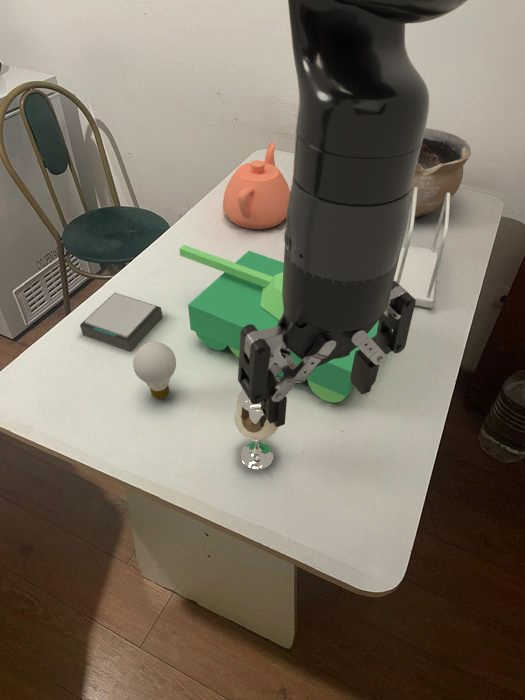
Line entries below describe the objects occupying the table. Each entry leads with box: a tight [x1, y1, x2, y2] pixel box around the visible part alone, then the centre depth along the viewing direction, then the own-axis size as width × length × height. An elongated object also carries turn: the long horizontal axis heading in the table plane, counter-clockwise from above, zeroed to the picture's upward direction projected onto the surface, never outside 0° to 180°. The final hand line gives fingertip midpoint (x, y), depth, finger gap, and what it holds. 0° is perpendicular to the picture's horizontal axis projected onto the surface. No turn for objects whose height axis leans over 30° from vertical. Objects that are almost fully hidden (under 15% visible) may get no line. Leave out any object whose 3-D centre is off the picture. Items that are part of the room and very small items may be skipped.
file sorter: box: [394, 187, 451, 309], centre depth 95 cm, size 25×17×16 cm
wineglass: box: [233, 388, 279, 471], centre depth 65 cm, size 6×6×12 cm
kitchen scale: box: [79, 292, 163, 352], centre depth 87 cm, size 10×10×3 cm
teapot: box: [222, 142, 291, 230], centre depth 111 cm, size 22×15×12 cm
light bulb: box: [132, 341, 177, 400], centre depth 73 cm, size 6×6×10 cm
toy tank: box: [178, 244, 379, 404], centre depth 82 cm, size 18×12×35 cm
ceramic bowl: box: [409, 127, 472, 218], centre depth 113 cm, size 22×22×15 cm
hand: (318, 402), depth 45 cm, fingers open, 8 cm apart
